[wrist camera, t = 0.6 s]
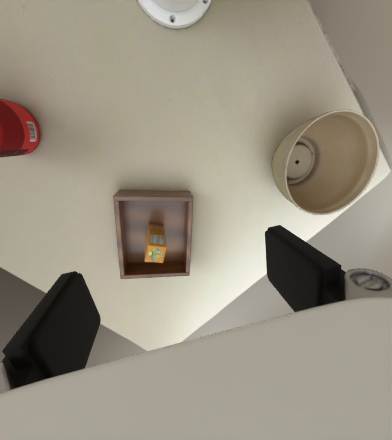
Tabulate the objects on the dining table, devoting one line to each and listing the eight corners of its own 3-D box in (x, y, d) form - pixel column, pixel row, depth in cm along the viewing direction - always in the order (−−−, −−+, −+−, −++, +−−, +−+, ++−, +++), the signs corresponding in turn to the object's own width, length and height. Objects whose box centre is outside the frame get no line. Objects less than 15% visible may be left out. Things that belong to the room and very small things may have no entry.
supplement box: (162, 239, 44) (163, 265, 35) (146, 236, 43) (142, 262, 34) (165, 224, 43) (167, 247, 34) (148, 221, 42) (145, 244, 33)
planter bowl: (335, 178, 46) (384, 188, 36) (269, 211, 46) (299, 230, 36) (320, 102, 40) (375, 88, 30) (244, 141, 40) (273, 141, 30)
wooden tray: (118, 190, 39) (113, 196, 35) (189, 191, 42) (193, 197, 37) (124, 265, 45) (120, 279, 41) (186, 262, 47) (189, 275, 43)
